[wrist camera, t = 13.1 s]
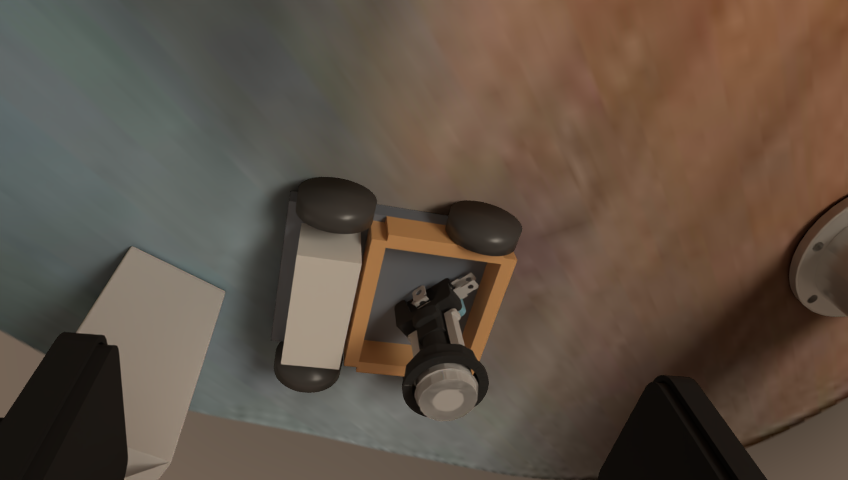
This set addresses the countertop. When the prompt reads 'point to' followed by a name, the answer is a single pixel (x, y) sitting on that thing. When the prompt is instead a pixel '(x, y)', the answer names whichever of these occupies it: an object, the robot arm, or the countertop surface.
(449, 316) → the push button
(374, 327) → the chassis
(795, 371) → the countertop surface
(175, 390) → the milk carton
